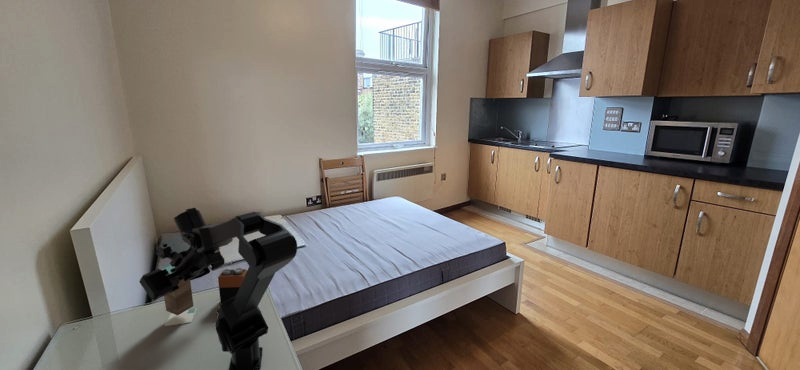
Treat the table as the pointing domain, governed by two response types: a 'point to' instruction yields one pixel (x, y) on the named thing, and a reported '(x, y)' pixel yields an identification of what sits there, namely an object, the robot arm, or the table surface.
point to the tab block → (179, 296)
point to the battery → (230, 283)
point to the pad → (181, 317)
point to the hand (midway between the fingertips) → (173, 285)
